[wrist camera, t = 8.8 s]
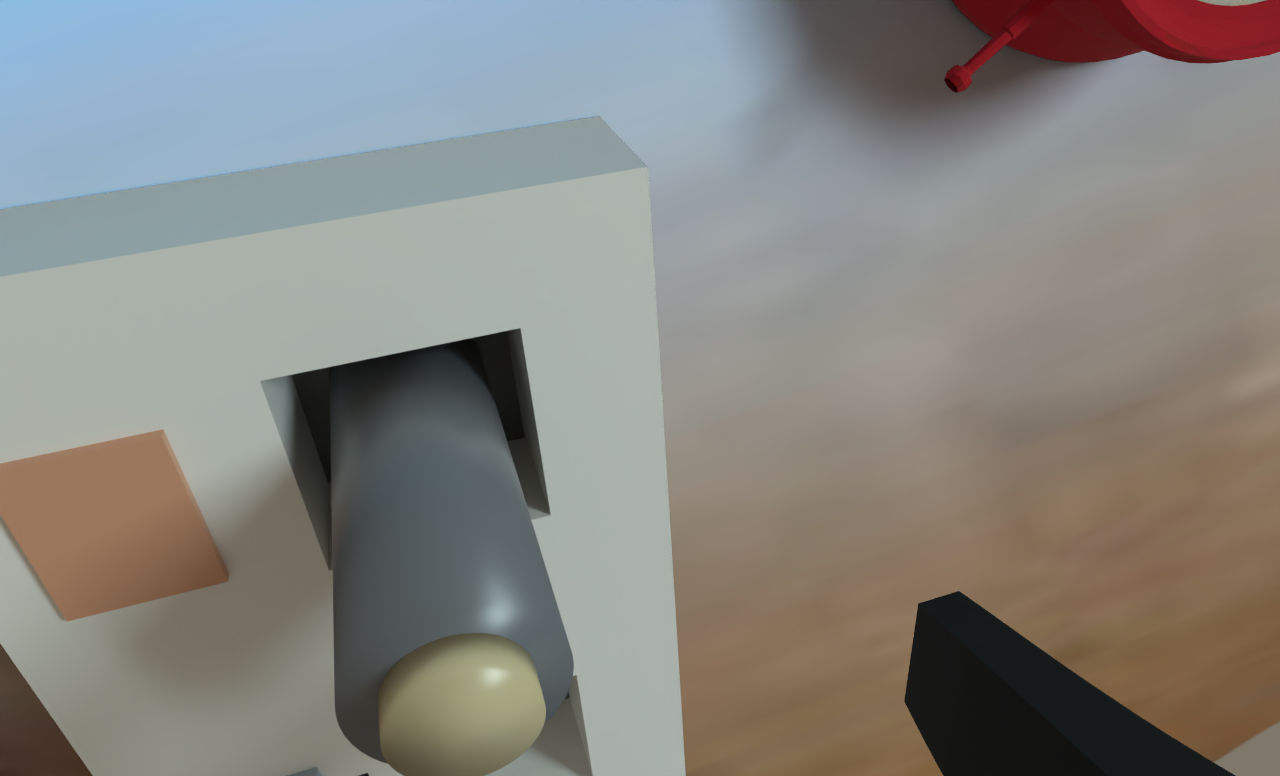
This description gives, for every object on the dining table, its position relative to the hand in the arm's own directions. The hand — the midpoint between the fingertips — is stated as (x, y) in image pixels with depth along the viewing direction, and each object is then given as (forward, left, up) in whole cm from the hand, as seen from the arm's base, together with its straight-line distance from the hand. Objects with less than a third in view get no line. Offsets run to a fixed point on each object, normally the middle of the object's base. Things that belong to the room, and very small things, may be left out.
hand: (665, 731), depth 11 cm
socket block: (-4, +4, -9) cm, 11 cm away
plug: (+1, +2, -9) cm, 9 cm away
